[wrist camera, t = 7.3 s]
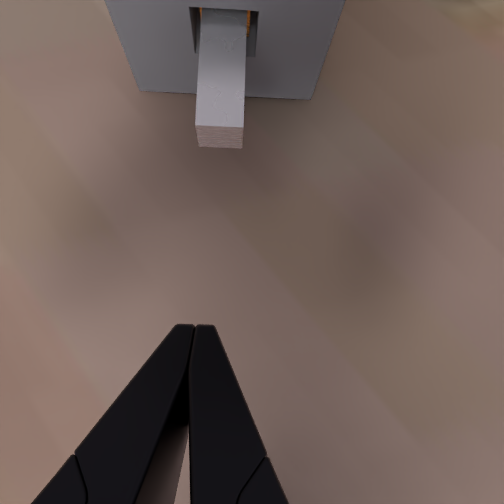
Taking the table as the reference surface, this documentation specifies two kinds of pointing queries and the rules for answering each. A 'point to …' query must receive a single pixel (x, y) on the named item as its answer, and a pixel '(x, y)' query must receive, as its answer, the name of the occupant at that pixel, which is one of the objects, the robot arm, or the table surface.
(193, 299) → the table surface
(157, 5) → the gray concrete brick
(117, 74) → the table surface
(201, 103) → the tan rectangular block
